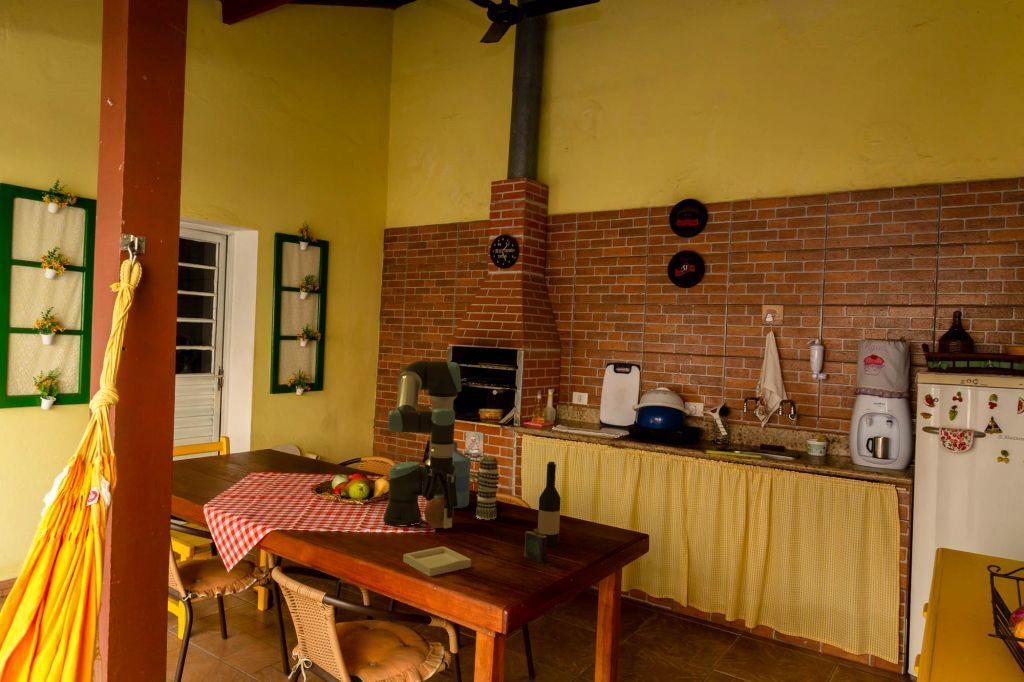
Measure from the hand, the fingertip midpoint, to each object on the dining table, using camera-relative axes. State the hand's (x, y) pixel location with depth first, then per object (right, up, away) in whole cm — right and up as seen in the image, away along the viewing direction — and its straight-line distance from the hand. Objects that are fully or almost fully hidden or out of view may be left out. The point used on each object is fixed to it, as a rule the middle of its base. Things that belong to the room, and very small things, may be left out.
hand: (438, 523), depth 226 cm
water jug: (-3, -13, +78) cm, 79 cm away
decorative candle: (+13, -14, +60) cm, 63 cm away
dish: (-1, -13, 0) cm, 14 cm away
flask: (+32, -15, +9) cm, 37 cm away
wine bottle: (+37, -15, +29) cm, 50 cm away
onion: (0, -1, 0) cm, 1 cm away
